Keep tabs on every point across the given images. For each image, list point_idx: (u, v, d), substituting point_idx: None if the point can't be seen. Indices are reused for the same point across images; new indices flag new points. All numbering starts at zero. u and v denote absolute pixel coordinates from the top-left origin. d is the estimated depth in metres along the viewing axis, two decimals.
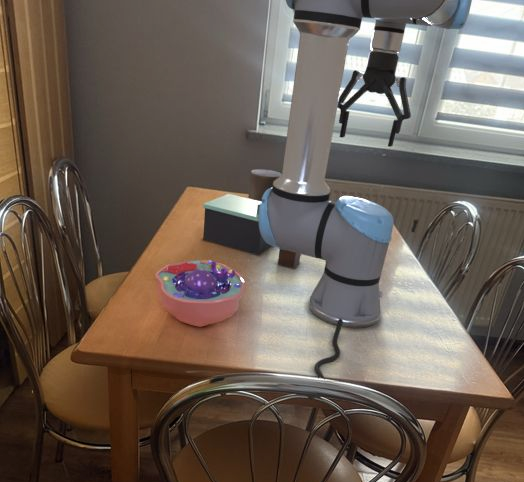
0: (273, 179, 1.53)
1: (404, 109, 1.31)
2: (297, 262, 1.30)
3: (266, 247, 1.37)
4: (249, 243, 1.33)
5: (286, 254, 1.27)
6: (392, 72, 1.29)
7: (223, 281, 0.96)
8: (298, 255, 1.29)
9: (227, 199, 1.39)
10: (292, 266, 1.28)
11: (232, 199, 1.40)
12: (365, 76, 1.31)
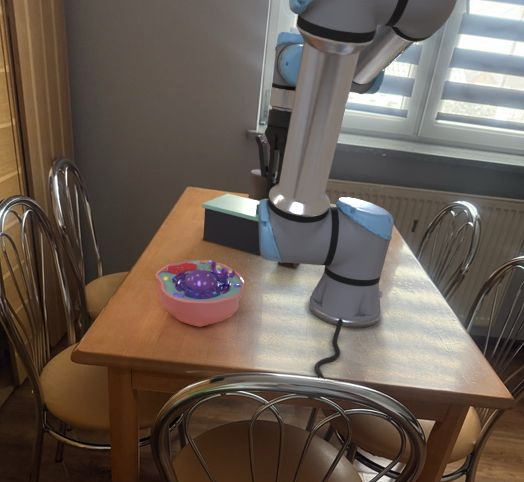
0: None
1: None
2: None
3: None
4: (249, 243, 1.33)
5: None
6: None
7: (223, 281, 0.96)
8: None
9: (226, 199, 1.39)
10: (292, 266, 1.28)
11: (231, 199, 1.40)
12: (267, 133, 1.24)
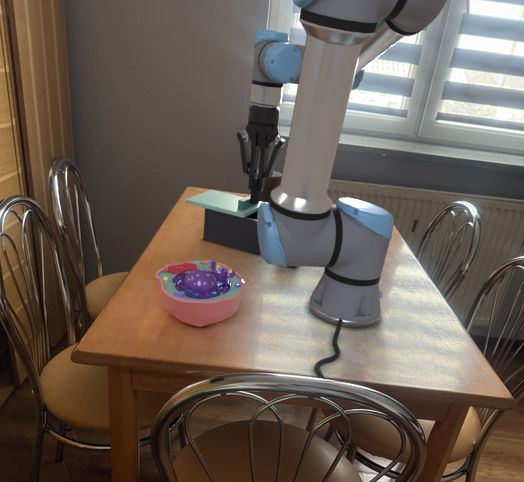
0: (273, 179, 1.53)
1: (268, 168, 1.28)
2: None
3: None
4: (249, 243, 1.33)
5: None
6: (273, 126, 1.23)
7: (223, 281, 0.96)
8: None
9: (210, 195, 1.41)
10: (292, 266, 1.28)
11: (215, 195, 1.41)
12: (248, 129, 1.26)
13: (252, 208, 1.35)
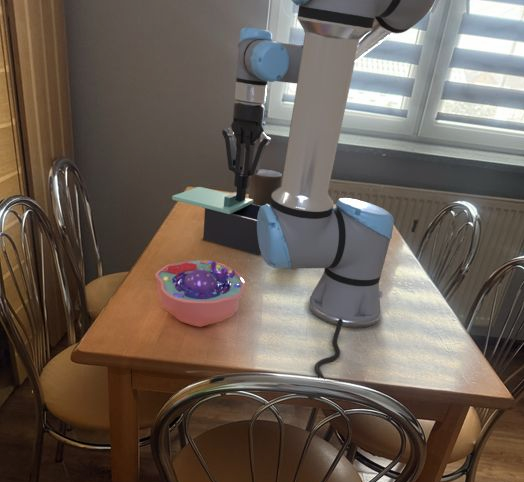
0: (273, 179, 1.53)
1: (253, 165, 1.29)
2: None
3: None
4: (249, 243, 1.33)
5: None
6: (258, 123, 1.24)
7: (223, 281, 0.96)
8: None
9: (197, 192, 1.42)
10: None
11: (202, 192, 1.42)
12: (233, 126, 1.27)
13: (238, 205, 1.36)
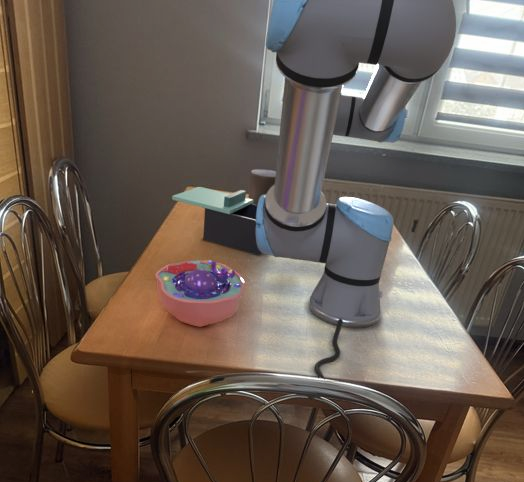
0: (273, 179, 1.53)
1: None
2: None
3: None
4: (249, 243, 1.33)
5: None
6: None
7: (223, 281, 0.96)
8: None
9: (197, 192, 1.42)
10: None
11: (202, 192, 1.42)
12: None
13: (238, 205, 1.36)
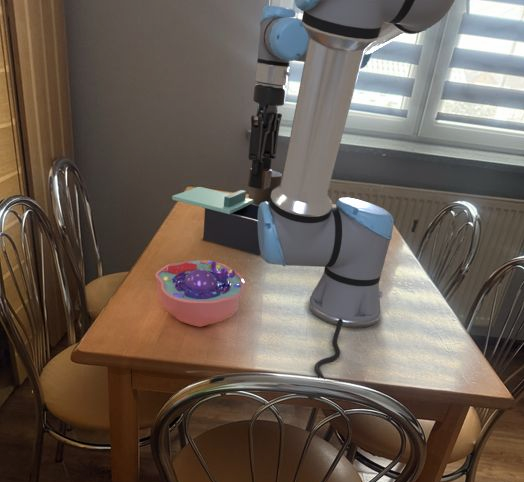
0: (273, 179, 1.53)
1: None
2: (267, 185, 1.31)
3: None
4: (249, 243, 1.33)
5: None
6: (259, 104, 1.19)
7: (223, 281, 0.96)
8: (268, 177, 1.30)
9: (197, 192, 1.42)
10: (262, 188, 1.29)
11: (202, 192, 1.42)
12: None
13: (238, 205, 1.36)
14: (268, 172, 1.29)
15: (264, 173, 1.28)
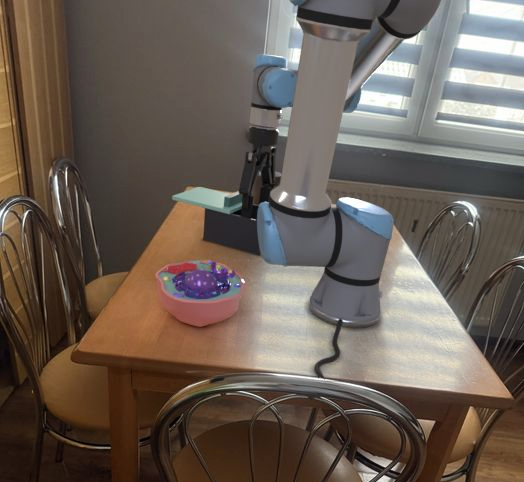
0: None
1: None
2: None
3: None
4: (249, 243, 1.33)
5: None
6: None
7: (223, 281, 0.96)
8: None
9: (197, 192, 1.42)
10: None
11: (202, 192, 1.42)
12: None
13: (238, 205, 1.36)
14: None
15: None
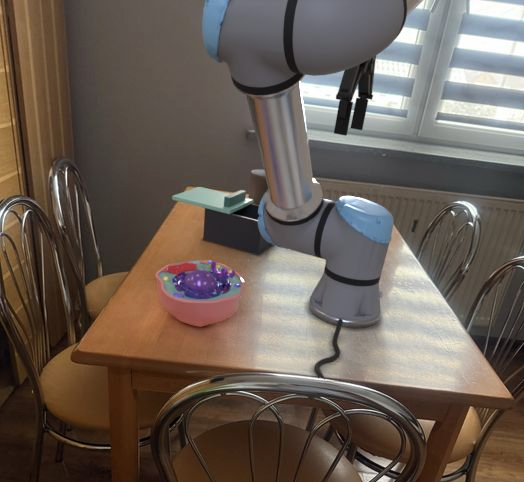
0: None
1: None
2: None
3: (266, 247, 1.37)
4: (249, 243, 1.33)
5: None
6: None
7: (223, 281, 0.96)
8: None
9: (197, 192, 1.42)
10: None
11: (202, 192, 1.42)
12: None
13: (238, 205, 1.36)
14: None
15: None
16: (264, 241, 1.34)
